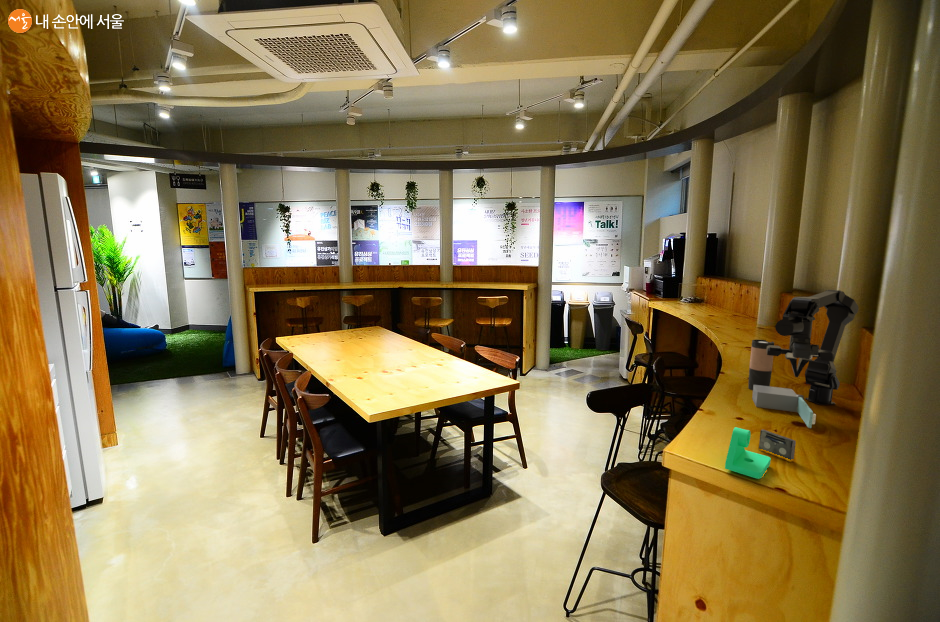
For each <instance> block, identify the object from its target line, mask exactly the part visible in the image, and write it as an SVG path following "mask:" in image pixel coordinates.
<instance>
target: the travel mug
mask: <svg viewBox="0 0 940 622" xmlns="http://www.w3.org/2000/svg"><path fill="white" fill-rule="evenodd" d="M768 345H773V346H775V341H767V340H766V339H752V341H751V347H750V348H751V350H750V357H749V358H750V359H749V369H748V382H747V383H748V385H747V386H748V389H749V390H751V391H753V386H754V385H761V386H770V387H771V380H772V373H773V372H772V371H773V365H774V364H773V363H774V362H773V361H774V356H770V355H767V353H766V348H767V346H768Z"/></svg>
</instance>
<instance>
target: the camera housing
mask: <svg viewBox="0 0 940 622" xmlns="http://www.w3.org/2000/svg"><path fill="white" fill-rule="evenodd" d="M799 397H802V399H803V400H804V401H805V396H804V395H803V394H797V393H796V392H795V391H794V390H793V388H787V387H778V386H771V385H770V386H761V385H754V386H753V390H752V397H751V398H752V401H753V403H754V406H755V407H756V408H763V409H770V410H778V411H785V412H794V413H798V412H797V407H798V398H799Z"/></svg>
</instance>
